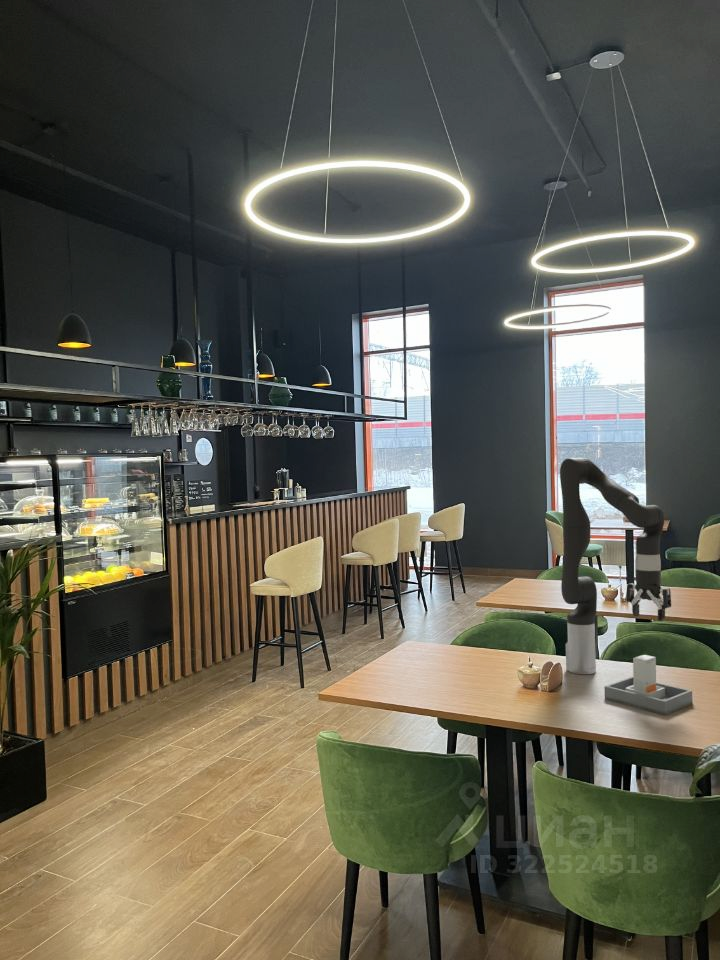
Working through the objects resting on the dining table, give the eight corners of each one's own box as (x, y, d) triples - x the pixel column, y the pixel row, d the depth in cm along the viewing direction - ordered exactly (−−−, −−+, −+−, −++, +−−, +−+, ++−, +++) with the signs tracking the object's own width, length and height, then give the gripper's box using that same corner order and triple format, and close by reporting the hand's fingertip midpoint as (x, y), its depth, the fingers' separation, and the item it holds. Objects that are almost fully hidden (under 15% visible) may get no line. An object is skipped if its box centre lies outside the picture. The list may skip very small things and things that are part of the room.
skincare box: (645, 699, 218) (644, 660, 218) (633, 696, 222) (632, 657, 222) (657, 695, 222) (656, 656, 222) (644, 692, 225) (643, 654, 225)
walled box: (604, 699, 222) (604, 686, 222) (632, 689, 231) (632, 676, 231) (665, 715, 206) (665, 701, 206) (692, 703, 215) (692, 690, 215)
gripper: (621, 566, 232) (621, 616, 232) (662, 571, 220) (662, 624, 221) (634, 564, 236) (635, 613, 237) (675, 569, 225) (676, 620, 225)
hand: (648, 618), depth 229 cm, fingers open, 8 cm apart
